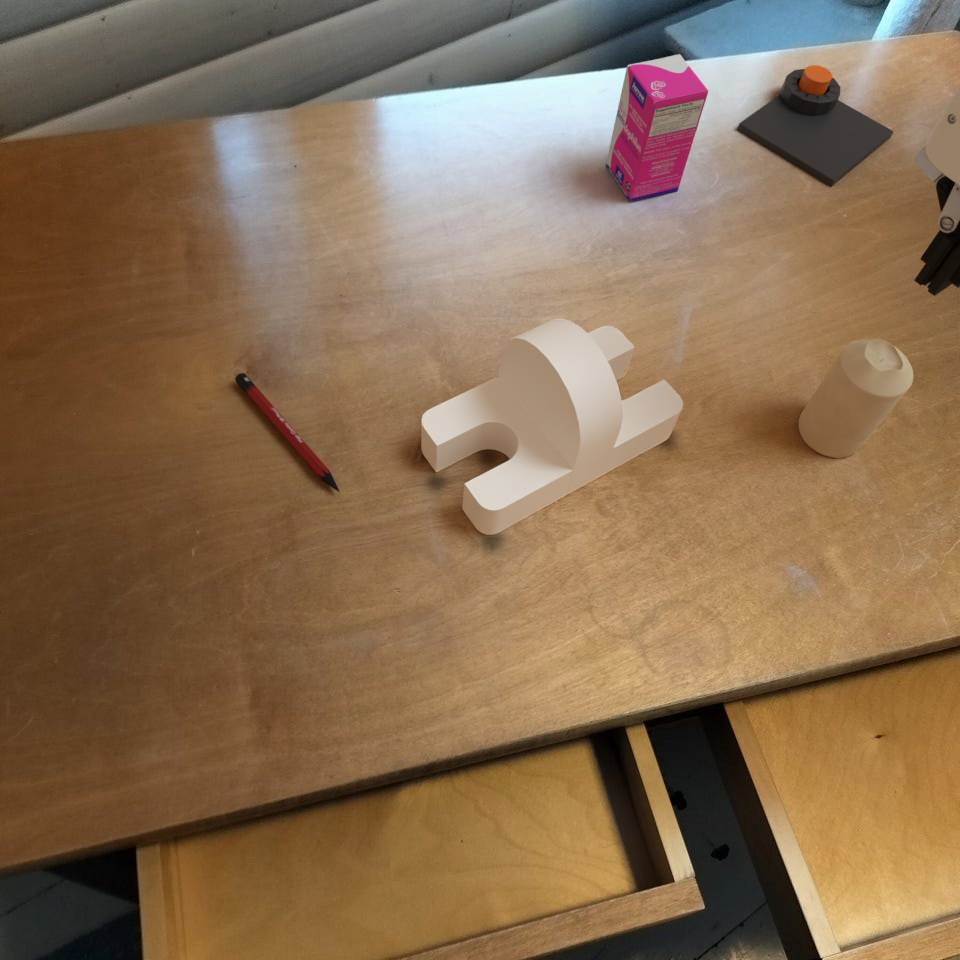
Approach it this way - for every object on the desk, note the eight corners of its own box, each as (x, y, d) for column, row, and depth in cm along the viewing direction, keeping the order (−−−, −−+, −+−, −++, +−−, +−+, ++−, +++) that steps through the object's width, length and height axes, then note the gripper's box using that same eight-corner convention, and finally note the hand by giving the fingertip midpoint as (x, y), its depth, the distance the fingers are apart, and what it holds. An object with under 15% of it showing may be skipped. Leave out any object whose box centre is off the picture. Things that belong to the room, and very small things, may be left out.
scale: (796, 82, 97) (805, 62, 94) (892, 136, 92) (903, 116, 90) (733, 128, 91) (740, 107, 89) (830, 187, 87) (841, 167, 85)
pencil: (336, 499, 65) (334, 492, 64) (236, 383, 70) (234, 376, 69) (345, 492, 65) (344, 486, 64) (245, 378, 70) (243, 370, 69)
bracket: (484, 540, 64) (496, 458, 54) (415, 443, 68) (415, 351, 58) (677, 434, 70) (719, 343, 60) (603, 351, 74) (631, 254, 64)
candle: (876, 448, 71) (939, 372, 62) (820, 466, 69) (877, 392, 61) (838, 397, 73) (894, 318, 65) (784, 414, 72) (834, 336, 63)
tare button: (807, 76, 94) (814, 61, 92) (831, 89, 93) (837, 74, 91) (792, 87, 92) (799, 72, 91) (816, 100, 91) (822, 85, 90)
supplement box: (602, 166, 87) (625, 62, 77) (653, 156, 88) (683, 51, 78) (627, 204, 84) (654, 100, 74) (679, 192, 86) (713, 89, 76)
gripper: (1323, 61, 39) (1065, 327, 55) (1046, -84, 45) (883, 194, 61) (1246, 115, 37) (997, 379, 52) (962, -46, 42) (815, 235, 58)
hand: (937, 279), depth 57 cm, fingers closed
